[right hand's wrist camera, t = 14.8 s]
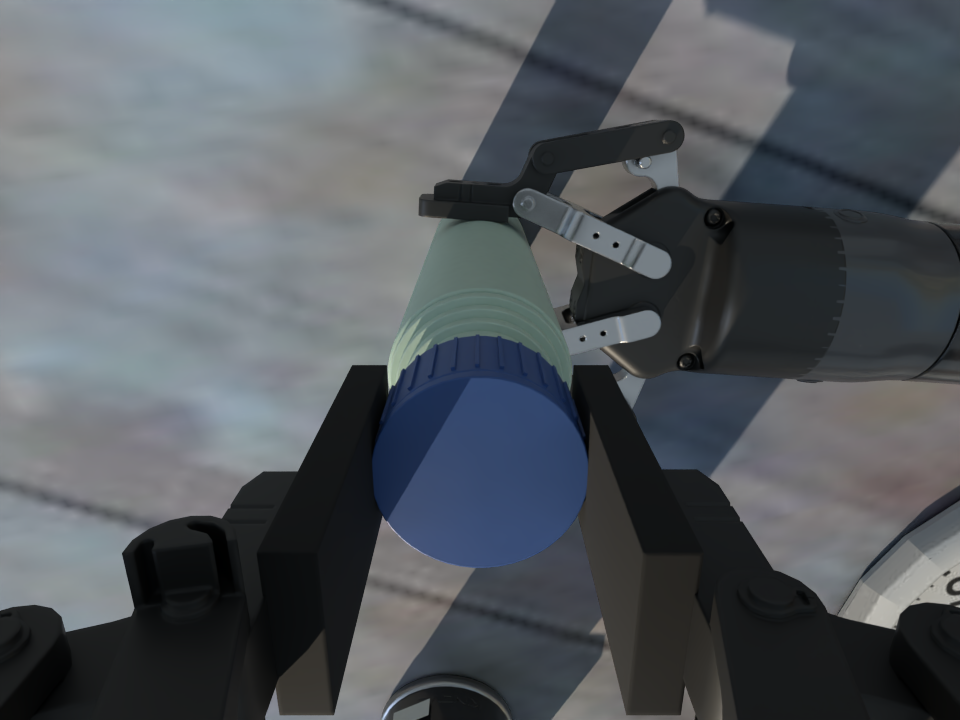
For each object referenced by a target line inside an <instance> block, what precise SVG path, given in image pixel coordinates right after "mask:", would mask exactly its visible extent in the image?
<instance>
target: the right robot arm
mask: <svg viewBox="0 0 960 720" xmlns="http://www.w3.org/2000/svg"><path fill="white" fill-rule="evenodd" d="M387 398H388V379H387V365H352V367H351V369H350V371H349V373H348V375H347V377H346V378H345V380H344V382H343V384H342V386H341V388H340V390H339V392H338V394H337V396H336V398H335V400H334V402H333V404H332V406H331V408H330V410H329V412H328V414H327V416H326V418H325V420H324V422H323V423H322V425H321V427H320V429H319V431H318V433H317V435H316V437H315V439H314V441H313V443H312V445H311V447H310V449H309V451H308V453H307V455H306V457H305V459H304V461H303V463H302V465H301V467H300V468H299V470H298V472H262V473H261V474H260V475H258V476H257V477H255V478H254V479H253V480H251V481H250V482H248V483H247V484H246V485H244V486H243V487H242V488H241V490H240V491H239V493H238V494H237V496H236V497H235V499H234V501H233V502H232V504H231V508H230V509H228V510H227V512H226V513H225V515H224V516H223V518H222V519H221V518H217V517H213V516H189V517H184V518H179V519H174V520H170V521H167V522H165V523H162V524H160V525H157V526H155V527H152V528H150V529H148V530H147V531H145V532H144V533H142V534H141V535H139V536H138V537H136V538H135V539H133V540H132V541H131V543H130V544H129V545H128V546H127V548H126V549H125V550H124V551H123V553H122V555H123V560H124V564H125V569H126V573H127V577H128V582H129V586H130V590H131V595H132V599H133V603H134V608H135V609H134V611H133V614H132V616H131V617H127V618H124V619H121V620H117V621H114V622H110V623H105V624H101V625H96V626H92V627H87V628H83V629H78V630H74V631H69V632H65V628H64V625H63V621H62V617H61V616H60V615H59V614H58V613H57V612H55V611H54V610H53V609H52V608H48V607H43V606H38V605H29V606H20V607H12V608H8V609H5V610H1V611H0V720H265V715H266V712H267V710H268V707H269V704H270V701H271V698H272V696H273V693H274V690H275V687H276V692H277V699H278V706H279V713H280V715H334V713H335V709H336V704H337V700H338V696H339V692H340V688H341V684H342V680H343V676H344V672H345V667H346V663H347V659H348V655H349V651H350V647H351V643H352V639H353V635H354V631H355V626H356V622H357V618H358V614H359V610H360V606H361V602H362V598H363V594H364V589H365V585H366V581H367V577H368V573H369V569H370V565H371V561H372V557H373V552H374V548H375V544H376V540H377V536H378V532H379V528H380V524H381V520H382V513H381V511H380V510H379V508H378V505H377V503H376V500H375V497H374V485H373V470H372V454H373V449H374V445H375V439H376V436H377V433H378V430H379V427H380V424H379V422H380V419H381V416H382V413H383V410H384V407H385V404H386V401H387ZM572 399H574V402H575V405H576V408H577V411H578V414H579V417H580V420H581V423H582V426H583V429H584V432H585V435H586V439H585V440H584V442H585V445H586V449H587V453H588V476H587V490H586V497H585V500H584V503H583V505H582V508H581V510H580V511H579V513H578V518H579V522H580V526H581V530H582V534H583V538H584V543H585V547H586V551H587V555H588V559H589V563H590V567H591V571H592V575H593V580H594V584H595V588H596V592H597V596H598V600H599V604H600V608H601V612H602V616H603V621H604V625H605V629H606V633H607V637H608V641H609V645H610V649H611V653H612V658H613V662H614V666H615V670H616V674H617V678H618V682H619V686H620V690H621V694H622V699H623V703H624V707H625V711H626V715H681V709H682V702H683V695H684V688H685V686H686V688H687V691H688V694H689V697H690V700H691V702H692V705H693V708H694V711H695V713H696V714H695V720H960V607H956V606H952V605H949V604H939V603H930V602H925V603H920V604H914V605H909V606H908V607H907V608H906V609H905V610H904V611H903V612H902V613H901V614H900V616H899V619H898V623H897V627H896V630H895V629H890V628H886V627H881V626H877V625H872V624H868V623H863V622H859V621H854V620H850V619H846V618H842V617H839V616H836V615H832V614H829V613H827V610H826V608H825V606H824V605H823V603H822V602H821V600H820V599H819V597H818V596H817V594H816V593H815V592H813V591H812V590H811V589H809V588H808V587H807V586H806V585H804V584H803V583H802V582H800V581H799V580H796V579H794V578H792V577H790V576H788V575H786V574H784V573H781V572H778V571H774V570H773V569H772V567H771V565H770V564H769V562H768V561H767V559H766V558H765V556H764V555H763V553H762V551H761V550H760V548H759V547H758V545H757V544H756V542H755V541H754V539H753V538H752V536H751V534H750V533H749V531H748V530H747V528H746V527H745V525H744V524H743V522H740V517H739V516H738V514H737V513H736V511H735V510H734V508H733V507H732V506H730V502H729V500H728V499H727V497H726V496H725V494H724V493H723V491H722V489H721V488H720V486H719V485H718V484H717V483H715V482H714V481H712V480H711V479H710V478H708V477H707V476H705V475H704V474H703V473H701V472H700V471H698V470H661V468H660V466H659V464H658V462H657V460H656V458H655V456H654V454H653V452H652V450H651V448H650V446H649V444H648V442H647V440H646V438H645V436H644V434H643V432H642V430H641V428H640V427H639V425H638V423H637V421H636V419H635V417H634V415H633V413H632V411H631V409H630V407H629V405H628V403H627V401H626V399H625V397H624V395H623V393H622V391H621V389H620V387H619V385H618V384H617V382H616V380H615V378H614V376H613V374H612V372H611V370H610V368H609V366H608V365H574V369H573V387H572Z"/></svg>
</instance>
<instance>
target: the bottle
mask: <svg viewBox="0 0 960 720" xmlns="http://www.w3.org/2000/svg"><path fill="white" fill-rule="evenodd" d="M476 334H479V335H480V336H491V337H497V336H501V337H502V338H503V339H507V340H511V341H514V342H516V343H518V342H521V343H522V345H524V346H526V347H527V348H529V349H531V350H533V351H535V352H536V353H537V352H539V353H541V357H543V358H544V359H545V360H546V361H547V362H548V363H549V364H550V365H551V366H553V365H554V366H555V367H556V369H557V373H558V374H559V376H560V377H561V379H562V381H563V382H565V381H566V382H567V384H568V387H569V390H570V388H571V383H572V364H571V357H570V353H569V349H568V346H567V343H566V341H565V338H564V335H563V333H562V330H561V328H560V325H559V322H558V320H557V317H556V314H555V312H554V309H553V306H552V304H551V301H550V299H549V296H548V293H547V291H546V288H545V285H544V283H543V280H542V278H541V275H540V272H539V270H538V267H537V264H536V262H535V259H534V256H533V254H532V251H531V249H530V246H529V243H528V241H527V238H526V235H525V233H524V230H523V228H522V225H521V223H520V221H519V219H518V218H513V217H509V219H508V223H501V222H490V221H474V220H460V219H446V218H442V219H441V221H440V223H439V225H438V228H437V230H436V233H435V236H434V238H433V241H432V243H431V246H430V249H429V251H428V254H427V257H426V259H425V262H424V265H423V267H422V270H421V272H420V275H419V278H418V280H417V283H416V286H415V288H414V291H413V294H412V296H411V299H410V301H409V304H408V307H407V309H406V312H405V315H404V317H403V320H402V322H401V325H400V328H399V330H398V333H397V336H396V338H395V341H394V344H393V346H392V349H391V353H390V357H389V365H388V382H389V387H390V388H391V386H392V385H394V386H395V384H396V382H397V381H398V379H399V376H400V373H401V370H402V369H403V368H404V369H406V368H407V367H408V366H409V365H410V364H411V363H412V362H413V361H414V360H415V357H416V356H417V355H418V354H419V355H421V354H423V353H424V352H425V351H427V350H429V349H431V348H433V346H434V345H435V344H438V345H439V344H441V343H444V342H446V341H449V340H453V339H454V337H458V338H461V337H469V336H476Z"/></svg>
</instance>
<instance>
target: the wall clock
mask: <svg viewBox="0 0 960 720" xmlns="http://www.w3.org/2000/svg"><path fill="white" fill-rule="evenodd" d="M925 602H930V603H939V604H949V605H952V606H956V607H960V501H958V502H957V503H955V504H954V505H952V506H950V507H949V508H947V509H946V510H944V511H943V512H941V513H939V514H938V515H936V516H935V517H933V518H932V519H930V520H929V521H927V522H925V523H924V524H922V525H921V526H919V527H918V528H916V529H915V530H913V531H911V532H910V533H908V534H907V535H905V536H904V537H903V538H902V539H901V540H900V541H899V542H898V543H897V544H896V545H895V546H894V547H893V548H892V549H891V550H890V551H889V552H888V553H887V554H886V555H884V556H883V557H882V558H881V559H880V560H879V561H878V562H877V563H876V564H875V565H874V566H873V567H872V568H871V569H870V570H869V571H868V572H867V573H866V574H865V575H864V576H863V577H862V578H861V579H860V580H859V582H858V584H857V585H856V587H855V588H854V590H853V592H852V593H851V595H850V596H849V598H848V600H847V601H846V603H845V604H844V606H843V607H842V609H841V611H840V612H839V614H838V615H837V616H839V617H842V618H846V619H850V620H854V621H859V622H863V623H868V624H872V625H877V626H881V627H886V628H890V629H895V630H896V627H897V623H898V619H899V616H900V614H901V613H902V612H903V611H904V610H905V609H906V608H907V607H908V606H909V605H914V604H920V603H925Z"/></svg>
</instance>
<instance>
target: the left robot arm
mask: <svg viewBox="0 0 960 720" xmlns="http://www.w3.org/2000/svg"><path fill="white" fill-rule="evenodd" d="M683 141H684V130H683V128H682V126H681V125H680V124H679V123H678V122H676V121H672V120H651V121H645V122H640V123H635V124H629V125H624V126H618V127H613V128H607V129H602V130H597V131H591V132H586V133H580V134H575V135H569V136H564V137H558V138H553V139H548V140H542V141H538V142H536V143H534V144H533V145H532V146H531V148H530V150H529V154H528V158H527V161H526V163H525V165H524V167H523V170H522V172H521V174H520V175H519V177H518V178H517V179H515V180H514V181H512V182H510V183H490V182H476V181H462V180H449V179H448V180H445V181H442V182H439V183H436V185H435V186H434V194H422V195H421V196H420V198H419V216H423V217H432V218H446V219H460V220H474V221H490V222H501V223H508V219H509V217H513V218H524V219H526V220H528V221H530V222H532V223H535V224H537V225H539V226H541V227H544V228H546V229H548V230H550V231H552V232H555V233H557V234H559V235H560V236H562V237H564V238H565V239H567V240H569V241H571V242H573V243H576V244H577V246H576V255H575V258H576V265H577V272H578V274H577V277H576V280H575V282H574V285H573V287H572V290H571V295H570V304H569V305H565V306H561V307H557V308H554V312H555V314H556V317H557V320H558V322H559V325H560V328H561V330H562V333H563V335H564V338H565V341H566V343H567V346H568V349H569V353H570V356H572V355H575V354H579V353H583V352H587V351H591V350H595V349H598V348H599V349H601V350H602V351H603V352H604V353H605V354H607V355H608V356H609V357H610V358H611V359H613V360H614V361H615V362H616V363H617V364H619V365H620V366H621V367H622V369H621V370H620V371H619V372H618V373H615V374H613V376H614V378H615V380H616V382H617V384H618V385H619V387H620V389H621V391H622V393H623V395H624V397H625V399H626V401H627V403H628V405H629V407H630V409H631V411H632V413H633V415H634V417H635V419H636V416H635V414H634V412H633V407H634V405H635V402H636V400H637V398H638V396H639V393H640V391H641V389H642V387H643V384H644V382H645V380H646V379H649V378H654V377H657V376H659V375H661V374H664V373H667V372H670V371H677V370H681V371H689V372H697V373H709V374H724V375H740V376H755V377H771V378H785V379H796V380H797V381H801V382H808V383H817V382H823V381H831V382H868V381H881V380H902V381H916V382H931V383H946V384H960V224H952V223H939V222H925V221H916V220H909V219H905V218H900V217H896V216H892V215H887V214H882V213H876V212H868V211H858V210H850V209H828V208H813V207H803V206H789V205H775V204H761V203H747V202H734V201H720V200H707V199H701V198H698V197H696V196H694V195H693V194H692V193H690V192H689V191H688V190H686V189H684V188H681V187H679V173H678V158H677V149H678V148H679V147H680V146H681V145H682V143H683ZM616 162H622V165H623V167H624V169H625V170H626V171H627V172H628V173H630V174H632V175H635V176H645V177H647V178H648V179H649V180H650V182H651V185H652V188H650V189H649V190H647V191H646V192H644V193H642V194H641V195H639V196H637V197H636V198H634V199H632V200H631V201H629V202H627V203H626V204H624V205H622V206H621V207H619V208H617V209H616V210H614V211H613V212H611V213H609V214H608V215H606V216H604V217H602V216H600V215H598V214H596V213H594V212H591V211H589V210H587V209H585V208H583V207H581V206H578V205H576V204H574V203H572V202H570V201H567V200H564V199H562V198H560V197H557V196H555V195H553V194H551V193H549V192H548V191H549V189H550V186H551V184H552V182H553V180H554V178H555V176H556V174H557V173H561V172H566V171H572V170H577V169H583V168H588V167H594V166H599V165H605V164H610V163H616ZM572 317H573V319H571V318H572ZM582 336H583V338H580V337H582ZM572 387H573V375H572V383H571V388H570V393H571V396H572ZM636 421H637V420H636ZM381 720H513V719H512V715H511V712H510V709H509V707H508V705H507V704H506V702H505V701H504V700H503V698H502V697H501V696H500V695H499V694H498V693H497V692H495V691H494V690H493V689H491V688H490V687H488V686H487V685H485V684H483V683H481V682H478V681H476V680H473V679H470V678H466V677H461V676H453V675H438V676H430V677H426V678H422V679H419V680H416V681H414V682H411V683H409V684H407V685H406V686H404V687H402V688H401V689H400V690H398V691H397V692H396V693H395V694H394V695H393V696H392V697H391V698H390V699H389V701H388V702H387V704H386V706H385V708H384V710H383V713H382V717H381Z"/></svg>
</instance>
